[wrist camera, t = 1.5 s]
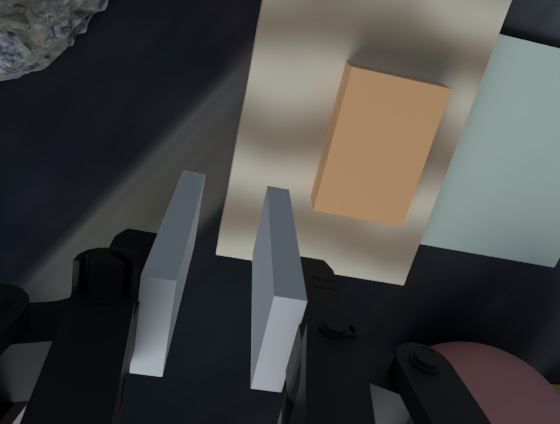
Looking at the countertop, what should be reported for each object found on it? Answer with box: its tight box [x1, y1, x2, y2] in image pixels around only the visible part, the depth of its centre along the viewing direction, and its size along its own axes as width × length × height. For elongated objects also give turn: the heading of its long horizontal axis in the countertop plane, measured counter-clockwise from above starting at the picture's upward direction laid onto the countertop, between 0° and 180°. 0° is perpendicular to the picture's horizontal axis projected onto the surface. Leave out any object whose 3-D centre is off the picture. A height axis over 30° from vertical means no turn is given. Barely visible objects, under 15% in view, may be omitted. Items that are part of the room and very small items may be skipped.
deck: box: [216, 0, 512, 285], centre depth 33 cm, size 20×14×4 cm
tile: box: [310, 62, 451, 226], centre depth 30 cm, size 9×6×2 cm, turn 168°
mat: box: [420, 34, 560, 267], centre depth 36 cm, size 16×13×1 cm
